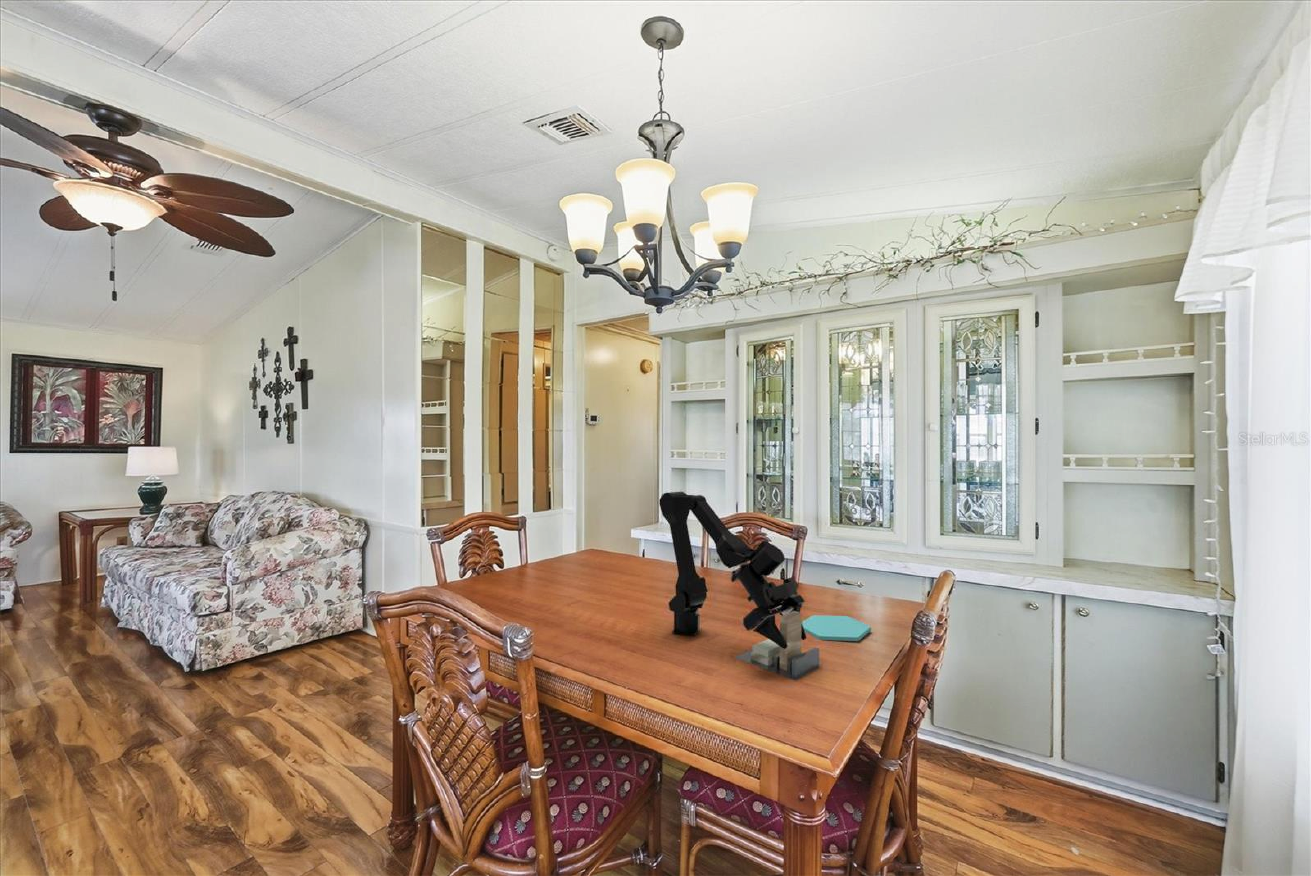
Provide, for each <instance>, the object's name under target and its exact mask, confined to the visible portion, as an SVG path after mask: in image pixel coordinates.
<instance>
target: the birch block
mask: <svg viewBox="0 0 1311 876" xmlns="http://www.w3.org/2000/svg"><path fill="white" fill-rule="evenodd" d="M802 615H803V614H802V612H801V611H800V612H796V611H793V612H790V613H788V614H785V615H783V616H782V615H780V616H779V631H780V633H781V634H782V636H783V638H784V640H785V641H786V643H787V645H788V647H787V648H786V649H783V648H782V647H780V668H781V669H784V670H786V671H787V661H789V660H791V659H793V658H795V657H797V656H799V655H801V654H802V639H801V622H802V619H803V618H802Z"/></svg>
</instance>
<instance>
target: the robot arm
mask: <svg viewBox="0 0 1311 876" xmlns="http://www.w3.org/2000/svg"><path fill="white" fill-rule="evenodd" d="M658 502H659V507H660V511H661V514H662V516H663V518H664V519H665V520H666V522H667V523H668V524H669V528H670V534H671V539H672V546H673V551H674V556H675V563H676V567H677V573H678V574H677V575H678V577H677V578H676V579H677V580H676V583H675V595H674V596H673V597H672V598H671V599H670V601H669V602H668V607H669V611H670V612H672V613H673V630H672V632H671V633H672V634H674V635H683V636H684V635H685V636H691V637H692V636H693V637H694V636H696V635H697V633H698V632H699V631H700V629H701V627H700V625H701V623H700V622H701V615H700V614H699V609H703V605H704V603H705V601H706V599H707V597H708V596H707V593H708V592H709V590H708V588H707V585H706V582H707V581H706V578H705V577H704V576H703V577H701V576H700V575H699V574H698V573H697V571H696V565H695V560H694V555H693V554H694V553H693V549H692V543H691V538H690V533H689V528H688V519H689V515H690V512H691V513H692V514H693V515H694V517H695V518H696V519H697V521H698V522H699V523H700V524H701V527H703V529H704V530H705V531H706V532H707V534H708V535H709V537H710V538H711V540H712V541H713V543H714V544H715V549H716V551H715V552H716V553H717V555H718V558H719V559H720V561H721V563H722V564H723V565H724V566H725V567H726V568H734V567H739V566H741V567H739V568H738V569H735V570H732V574H731V575H732V576H731V577H730V578H731V579H730V580H731V582H732V583H734V582H738V581H739V582H740V583H741V585H742V586H743V588H744V589H745V591H746V593H747V594H748V595H749V596H748V597H746V599H747V601H748V602H753V603H754V605H755V606H756V607H755V608H753V609H751V611H749V613H747V614H746V615H745V616H744V617H743V619H742V624H743V625H742V626H743V627H744V628H745V630H746V631H747V632H749V631H752V630H753V632H754V633H757V634H760V635H761V636H763V637H765V638H766V639H770V640H771V641H773V642H774V643H776V644H777V645H779V646H780V647H782V648H783V649H786V648H787V647H788V645H787V643H786V641H785V640H784V638H783V636H782V634H781V633H780V628H778V626H777V624H776V616H777V615H778V614H779V615H780V616H783V615H785V614H788V613H790V612H793V611H796V612H800V613H801V609H802V608H803V604H805V599H804V597H802V595H801V594H799V593H798V591H797V590H798V589H799V583H797V581H796V580H795V579H794V578H793V576H791V577H788V578H784V579H783V581H782V582H783V583H782V584H779V585H776V583H774V582H773V581H771V582H769V581H768V580H767V578H766V577H768V576H771V574H772V573H774V572H775V571H776V569H778V568H779V567H780V566H781V565H782V564H783V563H784V562H785V559H786V558H785V557H786V556H785V555H784V552H783V551H782V550H781V549H780V548H779V547H778V546H776V545H774V544H773V543H771V542H769V540H761V542H760V543H759V545H758V546H757V547H756V548H752V547H750V546H749V544H747V542H745V541H744V540H743V539H742V538H741V537H739V536H738V535H735V534H734V533H732V532H731V530H729V529H728V528H727V526H726V525H725V524H724V523H723V521H722V519H720V518H719V516H718V514H716V512H715V511H714V510H713V508H712V507H711V506H710V504H709V503H708V502H707V499H706V497H705V496H704V495H701V494H696V495H694V494H687V493H685V492H684V491H672V492H665V493H663V494H662V495H661V497H660V498H659V501H658ZM802 622H803V621H801V641H804V640H807V635H806V632H805V631H804V628H803V625H802Z"/></svg>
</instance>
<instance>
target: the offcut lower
mask: <svg viewBox="0 0 1311 876" xmlns="http://www.w3.org/2000/svg"><path fill="white" fill-rule="evenodd" d="M778 654H780V652H778V653H776V654H774V655H772V656H770V657H766V656H763V655H760V654H757V653H755V652H752V653H751V660H754V661H757V662H759V663H762V664H765V665H767V666H769V665H771V664H773V663H774V656H776V655H778Z"/></svg>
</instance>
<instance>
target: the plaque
mask: <svg viewBox="0 0 1311 876" xmlns="http://www.w3.org/2000/svg"><path fill="white" fill-rule="evenodd" d="M801 622H802V625H803V628H804V631H805V634H806V633H807V634H809V635H810V636H812V637H813V638H815V639H817V640H819V641H838V642H839V641H843V642H844V641H845V642H847V641H848V642H859V641H861V639H862V638H864V637H865V636H866V635H868V633H870V632H871V631H872V626H871V625H868V624H866V623H863V622H861V621H860V620H857V619H855V618H852V617H850V616H848V615H816V614H815V615H811V616H809V617H808V618H806V619H805V620H804V621H801Z"/></svg>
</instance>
